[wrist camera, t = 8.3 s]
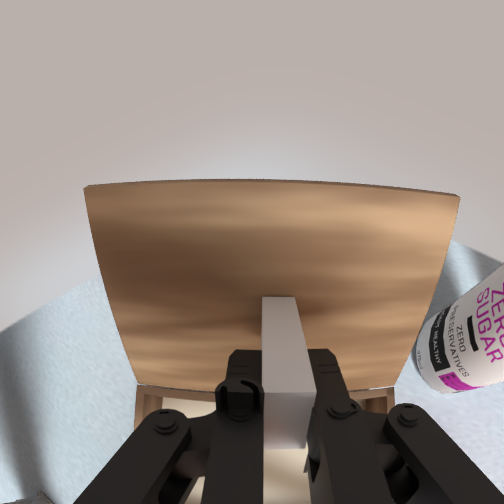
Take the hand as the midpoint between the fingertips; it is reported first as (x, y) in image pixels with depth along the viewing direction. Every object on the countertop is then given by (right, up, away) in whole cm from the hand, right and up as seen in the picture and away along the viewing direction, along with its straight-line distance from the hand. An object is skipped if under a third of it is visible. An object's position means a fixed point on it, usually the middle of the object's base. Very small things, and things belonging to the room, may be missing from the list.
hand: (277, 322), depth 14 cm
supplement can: (+18, -7, +10) cm, 21 cm away
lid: (0, -6, +4) cm, 7 cm away
